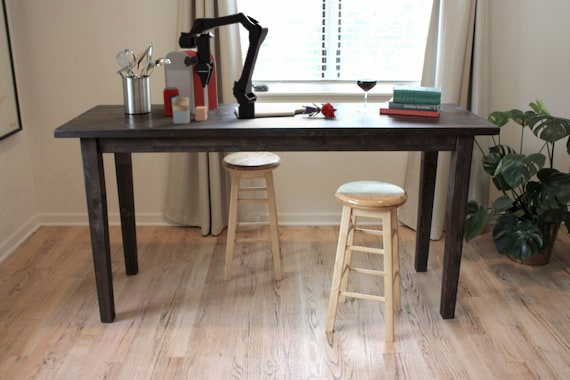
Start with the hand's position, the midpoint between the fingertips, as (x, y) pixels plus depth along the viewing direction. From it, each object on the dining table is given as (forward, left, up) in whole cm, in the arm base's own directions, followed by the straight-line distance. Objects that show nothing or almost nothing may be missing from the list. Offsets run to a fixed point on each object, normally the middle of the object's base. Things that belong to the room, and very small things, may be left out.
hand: (205, 86), depth 262 cm
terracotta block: (+1, +9, -13) cm, 16 cm away
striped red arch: (+9, -16, -13) cm, 22 cm away
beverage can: (+15, 0, -13) cm, 20 cm away
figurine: (-49, +8, -13) cm, 51 cm away
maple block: (+8, +16, -8) cm, 20 cm away
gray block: (+8, +16, -13) cm, 22 cm away
